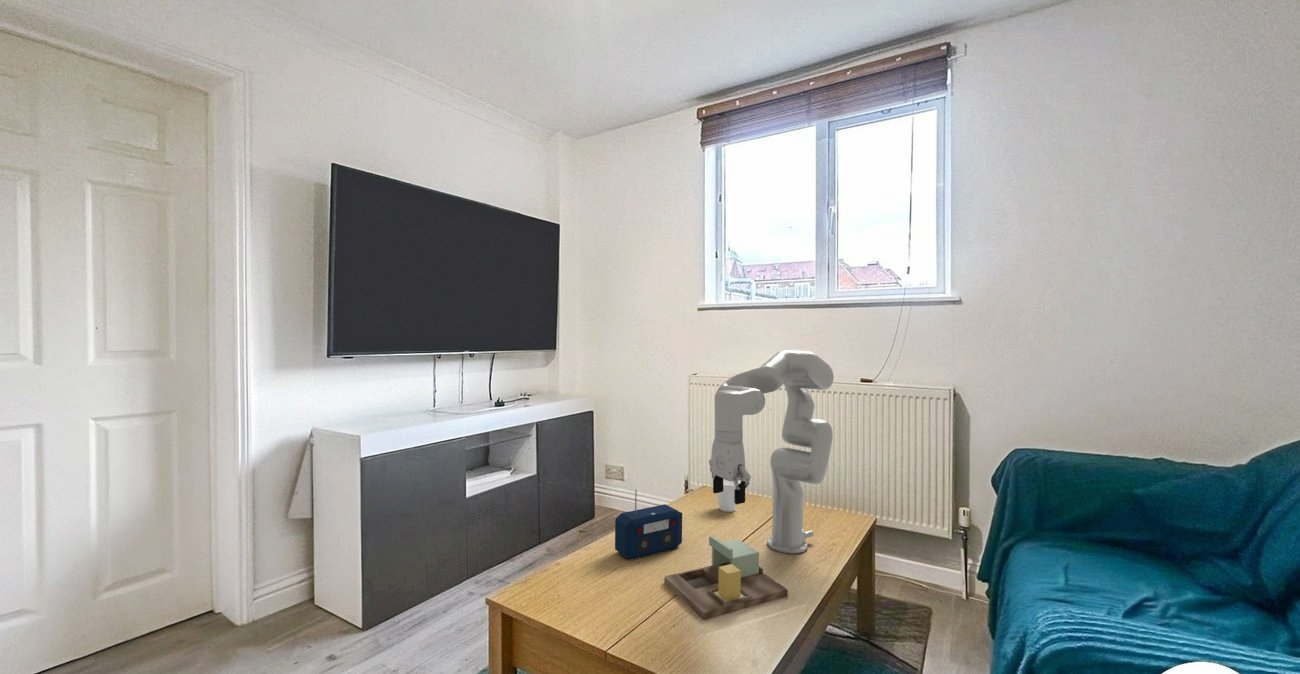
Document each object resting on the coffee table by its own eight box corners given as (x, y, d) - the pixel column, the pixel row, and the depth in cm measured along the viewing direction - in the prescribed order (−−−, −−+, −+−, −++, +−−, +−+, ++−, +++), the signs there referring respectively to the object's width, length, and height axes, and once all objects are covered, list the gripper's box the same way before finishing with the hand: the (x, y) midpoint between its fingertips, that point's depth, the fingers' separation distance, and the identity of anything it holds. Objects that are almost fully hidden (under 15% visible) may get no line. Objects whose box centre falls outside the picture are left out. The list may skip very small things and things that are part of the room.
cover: (737, 558, 154) (737, 530, 154) (758, 573, 145) (759, 543, 145) (708, 565, 149) (709, 536, 149) (729, 580, 140) (729, 549, 140)
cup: (714, 513, 198) (714, 484, 198) (715, 504, 208) (715, 477, 207) (740, 515, 196) (741, 486, 196) (740, 506, 206) (740, 478, 206)
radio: (627, 563, 155) (628, 496, 155) (613, 552, 162) (614, 488, 162) (684, 548, 166) (685, 486, 166) (669, 538, 173) (669, 479, 173)
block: (731, 589, 135) (731, 564, 135) (740, 597, 132) (740, 570, 132) (718, 593, 134) (718, 567, 134) (727, 600, 130) (727, 573, 130)
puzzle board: (741, 565, 154) (741, 554, 154) (787, 596, 137) (787, 584, 137) (664, 583, 143) (664, 572, 143) (703, 620, 125) (704, 607, 125)
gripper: (699, 431, 148) (699, 490, 149) (737, 444, 133) (737, 510, 133) (720, 428, 151) (721, 486, 152) (760, 440, 136) (760, 505, 137)
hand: (728, 497), depth 143 cm, fingers open, 9 cm apart
